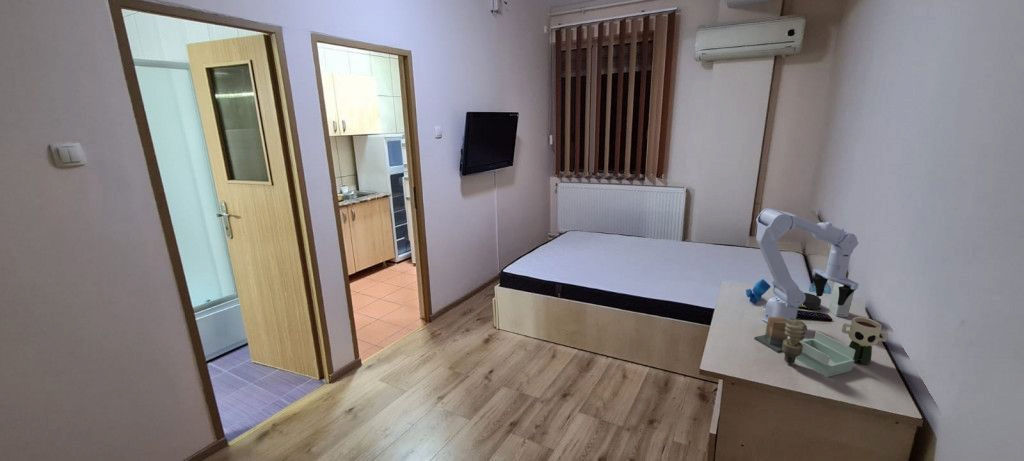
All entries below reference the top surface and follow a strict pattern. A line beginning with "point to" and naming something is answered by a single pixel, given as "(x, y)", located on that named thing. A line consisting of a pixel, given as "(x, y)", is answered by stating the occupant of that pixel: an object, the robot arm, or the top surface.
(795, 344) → the light bulb
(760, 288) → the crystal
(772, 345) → the mat
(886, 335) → the character mug
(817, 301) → the smart speaker
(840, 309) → the skincare box
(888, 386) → the top surface
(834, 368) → the pale green open tray
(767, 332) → the walnut box
